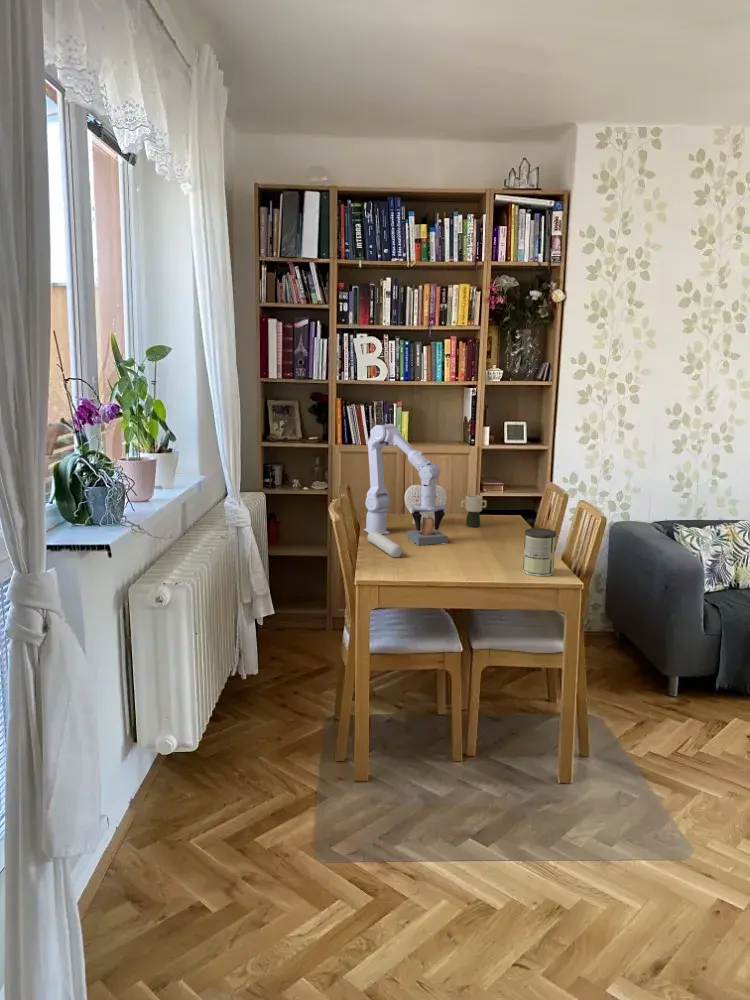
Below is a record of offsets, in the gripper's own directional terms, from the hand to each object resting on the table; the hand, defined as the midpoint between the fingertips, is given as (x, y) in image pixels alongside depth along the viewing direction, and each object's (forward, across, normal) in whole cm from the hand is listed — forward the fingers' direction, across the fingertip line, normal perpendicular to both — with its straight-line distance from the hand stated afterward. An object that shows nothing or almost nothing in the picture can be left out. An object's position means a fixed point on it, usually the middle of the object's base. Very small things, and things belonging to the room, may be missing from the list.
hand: (427, 530), depth 298 cm
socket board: (+4, 0, 0) cm, 4 cm away
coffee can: (+5, +19, -51) cm, 55 cm away
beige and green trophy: (+5, +30, +21) cm, 37 cm away
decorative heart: (+5, +11, +29) cm, 31 cm away
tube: (+5, -21, -10) cm, 23 cm away
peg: (+4, 0, 0) cm, 4 cm away
